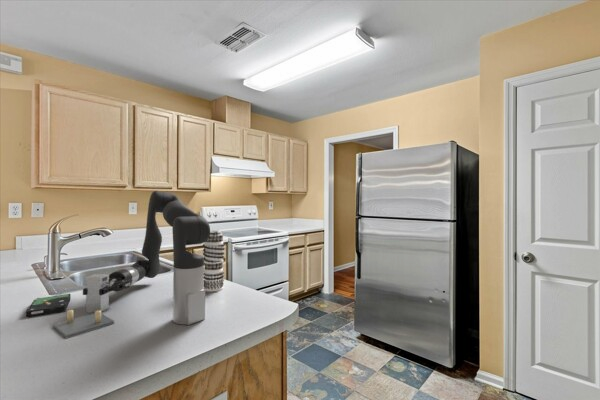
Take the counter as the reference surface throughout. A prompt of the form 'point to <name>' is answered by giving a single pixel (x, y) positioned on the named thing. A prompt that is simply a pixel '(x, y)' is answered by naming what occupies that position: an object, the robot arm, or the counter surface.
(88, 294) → the grey upright block
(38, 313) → the disk drive
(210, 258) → the decorative candle
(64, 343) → the counter surface
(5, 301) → the counter surface
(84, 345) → the counter surface
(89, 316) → the grey plate with pegs
